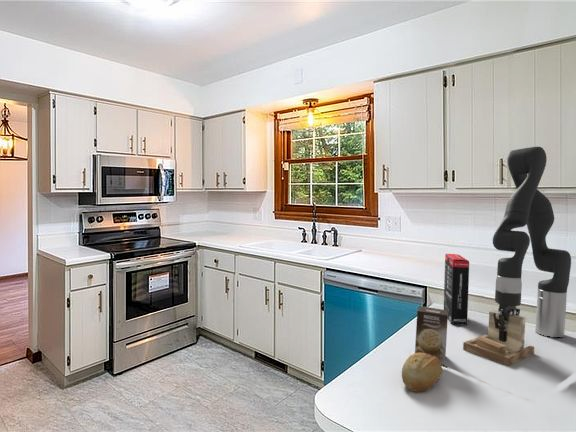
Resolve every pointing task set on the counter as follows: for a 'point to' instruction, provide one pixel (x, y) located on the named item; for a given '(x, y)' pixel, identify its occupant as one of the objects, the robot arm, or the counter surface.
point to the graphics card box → (456, 288)
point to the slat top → (491, 345)
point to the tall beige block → (509, 332)
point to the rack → (497, 356)
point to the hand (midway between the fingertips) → (505, 339)
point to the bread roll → (421, 371)
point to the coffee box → (431, 332)
